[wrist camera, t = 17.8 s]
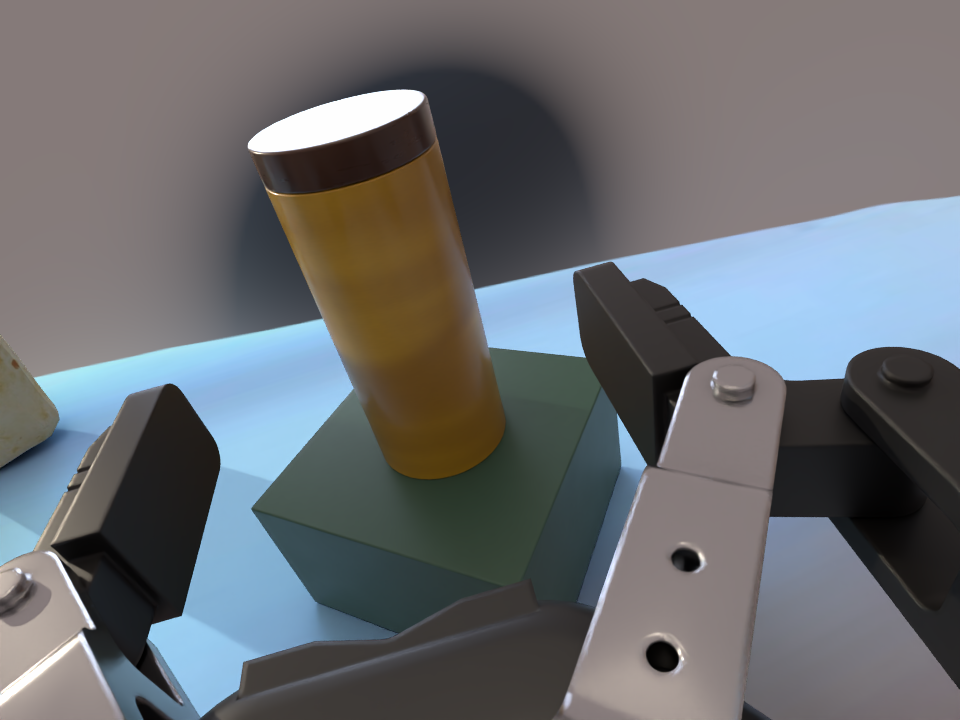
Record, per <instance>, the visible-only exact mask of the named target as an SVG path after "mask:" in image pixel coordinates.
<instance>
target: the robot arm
mask: <svg viewBox="0 0 960 720" xmlns="http://www.w3.org/2000/svg"><path fill="white" fill-rule="evenodd" d="M573 283H574V291H575V299H576V307H577V315H578V322H579V330H580V338H581V343H582V347H583V350H584V353H585V356H586V359H587V361H588V364H589V366H590V367H591V369H592V371H593V373H594V374H595V376H596V378H597V379H598V381H599V383H600V385H601V386H602V388H603V390H604V391H605V393H606V395H607V397H608V398H609V400H610V402H611V403H612V405H613V407H614V409H615V410H616V412H617V414H618V415H619V417H620V419H621V421H622V422H623V424H624V426H625V427H626V429H627V431H628V433H629V434H630V436H631V438H632V439H633V441H634V443H635V445H636V446H637V448H638V450H639V451H640V453H641V455H642V457H643V458H644V460H645V462H646V463H647V466H646V468H645V469H644V471H643V474H642V476H641V479H640V481H639V484H638V487H637V490H636V493H635V496H634V499H633V502H632V505H631V508H630V511H629V513H628V516H627V519H626V522H625V525H624V528H623V531H622V534H621V537H620V540H619V543H618V545H617V548H616V551H615V554H614V557H613V560H612V563H611V566H610V569H609V572H608V575H607V577H606V580H605V583H604V586H603V589H602V592H601V595H600V598H599V601H598V604H597V607H596V608H594V607H591V606H589V605H584V604H580V603H575V602H571V601H561V600H537V599H536V595H535V592H534V588H533V585H532V581H531V578H530V579H527V580H523V581H520V582H517V583H513V584H510V585H506V586H503V587H499V588H496V589H492V590H489V591H486V592H482V593H479V594H475V595H472V596H468V597H465V598H462V599H459V600H458V601H456V602H454V603H452V604H451V605H449V606H447V607H445V608H444V609H442V610H440V611H438V612H436V613H435V614H433V615H431V616H429V617H428V618H426V619H424V620H422V621H421V622H419V623H417V624H415V625H413V626H412V627H410V628H408V629H406V630H405V631H403V632H401V633H399V634H397V635H396V636H393V637H391V638H388V639H381V640H346V641H314V642H311V643H307V644H304V645H300V646H297V647H294V648H290V649H287V650H283V651H280V652H276V653H273V654H270V655H266V656H263V657H259V658H256V659H252V660H249V661H246V662H243V668H242V675H241V681H240V688H239V690H238V691H236V692H234V693H233V694H231V695H230V696H229V697H227V698H226V699H224V700H223V701H221V702H220V703H219V704H217V705H216V706H215V707H213V708H212V709H211V710H210V711H209V712H208V713H206V714H205V715H204V716H203V717H202V718H201V717H200V716H199V714H198V713H197V711H196V710H195V708H194V706H193V705H192V703H191V702H190V700H189V698H188V697H187V695H186V693H185V692H184V690H183V689H182V687H181V685H180V684H179V682H178V681H177V679H176V677H175V676H174V674H173V673H172V671H171V669H170V668H169V666H168V665H167V663H166V661H165V660H164V658H163V657H162V655H161V653H160V652H159V650H158V649H157V647H156V646H155V645H154V644H153V643H152V642H151V641H150V640H149V639H148V638H147V637H148V634H149V631H150V627H151V624H155V623H158V622H162V621H165V620H169V619H172V618H176V617H179V616H182V613H183V609H184V605H185V601H186V598H187V594H188V590H189V586H190V582H191V578H192V575H193V571H194V567H195V563H196V559H197V555H198V552H199V548H200V544H201V540H202V536H203V532H204V529H205V525H206V521H207V517H208V513H209V509H210V505H211V502H212V498H213V494H214V490H215V486H216V482H217V479H218V475H219V471H220V454H219V450H218V447H217V444H216V442H215V440H214V438H213V437H212V435H211V434H210V432H209V431H208V429H207V428H206V426H205V425H204V423H203V422H202V421H201V419H200V418H199V416H198V415H197V413H196V412H195V410H194V409H193V407H192V406H191V404H190V403H189V401H188V400H187V398H186V397H185V396H184V394H183V393H182V391H181V390H180V389H179V388H178V387H177V386H175V385H173V384H165V385H162V386H158V387H154V388H151V389H147V390H144V391H140V392H136V393H133V394H130V395H129V396H127V398H126V399H125V401H124V403H123V405H122V407H121V409H120V411H119V413H118V415H117V417H116V419H115V420H114V422H113V424H112V426H109V427H108V428H107V429H106V430H105V432H104V433H103V434H102V435H101V436H100V437H99V438H98V439H97V440H96V441H95V442H94V443H93V444H92V445H91V446H90V447H89V448H88V450H87V452H86V454H85V456H84V457H83V459H82V461H81V463H80V465H79V467H78V468H77V471H78V473H77V474H74V476H73V478H72V480H71V481H70V483H69V485H68V487H67V489H68V492H65V493H64V494H63V496H62V498H61V500H60V502H59V504H58V505H57V507H56V509H55V511H54V513H53V515H52V517H51V518H50V520H49V522H48V524H47V526H46V528H45V530H44V531H43V533H42V535H41V537H40V539H39V541H38V542H37V544H36V546H35V548H34V550H33V552H30V553H27V554H24V555H21V556H19V557H17V558H14V559H13V560H11V561H9V562H7V563H5V564H4V565H2V566H1V567H0V720H771V719H770V718H768V717H767V716H765V715H764V714H762V713H761V712H759V711H758V710H756V709H755V708H753V707H752V706H750V705H749V704H747V703H746V702H745V701H744V696H745V689H746V682H747V674H748V667H749V660H750V653H751V645H752V638H753V631H754V624H755V617H756V609H757V602H758V595H759V588H760V581H761V573H762V566H763V559H764V552H765V544H766V537H767V530H768V523H769V517H828V518H829V519H830V520H831V521H832V523H833V524H834V525H835V527H836V528H837V529H838V531H839V532H840V533H841V535H842V536H843V537H844V539H845V540H846V541H847V542H848V544H849V545H850V546H851V548H852V549H853V550H854V552H855V553H856V554H857V556H858V557H859V558H860V559H861V561H862V562H863V563H864V565H865V566H866V567H867V569H868V570H869V571H870V573H871V574H872V575H873V577H874V578H875V579H876V580H877V582H878V583H879V584H880V586H881V587H882V588H883V590H884V591H885V592H886V594H887V595H888V596H889V598H890V599H891V600H892V601H893V603H894V604H895V605H896V607H897V608H898V609H899V611H900V612H901V613H902V615H903V616H904V617H905V619H906V620H907V621H908V622H909V624H910V625H911V626H912V628H913V629H914V630H915V632H916V633H917V634H918V636H919V637H920V638H921V639H922V641H923V642H924V643H925V645H926V646H927V647H928V649H929V650H930V651H931V653H932V654H933V655H934V657H935V658H936V659H937V660H938V662H939V663H940V664H941V666H942V667H943V668H944V670H945V671H946V672H947V674H948V675H949V676H950V678H951V679H952V680H953V681H954V683H955V684H956V685H957V687H958V688H959V689H960V369H959V368H958V367H956V366H955V365H953V364H952V363H950V362H949V361H947V360H945V359H943V358H941V357H939V356H937V355H934V354H931V353H928V352H925V351H921V350H917V349H911V348H903V347H881V348H875V349H870V350H867V351H864V352H862V353H860V354H858V355H856V356H855V357H853V358H852V359H851V361H850V362H849V363H848V366H847V369H846V373H845V378H844V379H826V380H805V381H789V380H783V378H782V376H781V375H780V374H779V373H778V372H777V371H776V370H774V369H773V368H772V367H770V366H768V365H766V364H764V363H762V362H759V361H757V360H753V359H749V358H744V357H733V356H730V354H729V353H728V352H727V351H726V350H725V349H724V348H723V347H722V346H721V345H720V344H719V343H718V342H717V341H716V340H715V339H714V338H713V337H712V336H711V335H710V334H709V332H708V331H707V330H706V329H705V328H704V327H703V326H702V325H701V324H700V323H699V322H698V321H697V320H696V319H695V318H694V317H691V314H690V313H689V312H688V310H687V309H686V308H685V307H684V306H683V305H680V303H679V301H678V300H677V299H676V298H675V297H674V296H673V295H672V294H671V293H670V292H669V291H668V290H667V288H665V287H663V286H661V285H658V284H656V283H654V282H651V281H649V280H647V279H644V278H643V279H639V280H635V281H632V282H630V281H629V280H628V279H627V278H626V277H625V276H624V274H623V273H622V272H621V271H620V270H619V269H618V267H617V266H616V265H615V264H614V263H613V262H607V263H603V264H600V265H596V266H593V267H589V268H585V269H582V270H578V271H575V272H574V275H573Z"/></svg>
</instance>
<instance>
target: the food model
mask: <svg viewBox="0 0 960 720" xmlns="http://www.w3.org/2000/svg"><path fill="white" fill-rule="evenodd" d="M58 422H59V414H58V411H57V409H56V407H55V405H54V404H53V403H52V401H51V400H50V399H49V398H48V396H47V395H46V394H45V393H44V391H43V390H42V389H41V387H40V386H39V385H38V383H37V382H36V381H35V379H34V378H33V377H32V375H31V374H30V372H29V371H28V370H27V368H26V367H25V365H24V364H23V362H22V361H21V360H20V359H19V357H18V356H17V355H16V353H15V352H14V351H13V349H12V348H11V347H10V345H8V343H7V342H6V341H5V339H4V338H3V337H2V336H1V335H0V468H1V467H2V466H4V465H5V464H7V463H8V462H10V461H12V460H13V459H15V458H16V457H18V456H19V455H21V454H22V453H24V452H25V451H27V450H29V449H30V448H32V447H34V446H36V445H37V444H39V443H41V442H43V441H44V440H46V439H47V438H49V437H50V436H51V435H52V434H53V432H54V430H55V428H56V426H57V424H58Z"/></svg>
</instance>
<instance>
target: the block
mask: <svg viewBox="0 0 960 720" xmlns="http://www.w3.org/2000/svg"><path fill="white" fill-rule="evenodd" d="M488 348H489V347H488ZM489 352H490V356H491V360H492V364H493V369H494V373H495V377H496V381H497V385H498V389H499V393H500V397H501V401H502V405H503V409H504V413H505V420H506V424H505V430H504V434H503V436H502V438H501V441H500V442H499V444H498V445H497V447H496V448H495V449H494V451H493V452H492V453H491V454H490V455H489V456H488V457H487V458H486V459H484V460H483V461H482V462H480V463H479V464H478V465H476V466H474V467H473V468H471V469H469V470H467V471H465V472H462V473H460V474H457V475H454V476H450V477H447V478H441V479H430V480H427V479H416V478H411V477H408V476H405V475H403V474H401V473H399V472H397V471H396V470H394V469H393V468H392V467H391V466H390V465H389V464H388V463H387V461H386V460H385V458H384V456H383V453H382V451H381V449H380V447H379V444H378V442H377V440H376V438H375V435H374V433H373V431H372V429H371V426H370V424H369V422H368V419H367V417H366V415H365V413H364V410H363V408H362V406H361V404H360V401H359V399H358V397H357V395H356V392H355V390H354V389H353V390H352V391H351V393H350V394H349V395H348V396H347V397H346V398H345V400H344V401H343V402H342V403H341V404H340V405H339V407H338V408H337V409H336V410H335V411H334V412H333V414H332V415H331V416H330V417H329V418H328V419H327V421H326V422H325V423H324V424H323V425H322V426H321V428H320V429H319V430H318V431H317V432H316V433H315V435H314V436H313V437H312V438H311V439H310V440H309V442H308V443H307V444H306V445H305V446H304V447H303V448H302V450H301V451H300V452H299V453H298V454H297V455H296V457H295V458H294V459H293V460H292V461H291V462H290V464H289V465H288V466H287V467H286V468H285V469H284V471H283V472H282V473H281V474H280V475H279V476H278V478H277V479H276V480H275V481H274V482H273V483H272V485H271V486H270V487H269V488H268V489H267V490H266V492H265V493H264V494H263V495H262V496H261V497H260V499H259V500H258V501H257V502H256V503H255V504H254V506H253V507H252V508H251V510H252V511H253V513H254V514H255V515H256V517H257V518H258V520H259V521H260V523H261V524H262V526H263V527H264V528H265V530H266V531H267V533H268V534H269V536H270V537H271V538H272V540H273V541H274V543H275V544H276V546H277V547H278V549H279V550H280V551H281V553H282V554H283V556H284V557H285V559H286V560H287V561H288V563H289V564H290V566H291V567H292V569H293V570H294V572H295V573H296V574H297V576H298V577H299V579H300V580H301V582H302V583H303V584H304V586H305V587H306V589H307V590H308V592H309V593H310V595H311V596H312V597H313V599H314V600H315V602H318V603H321V604H323V605H326V606H328V607H331V608H334V609H336V610H339V611H342V612H344V613H347V614H349V615H352V616H355V617H357V618H360V619H362V620H365V621H368V622H370V623H373V624H376V625H378V626H381V627H383V628H386V629H389V630H391V631H394V632H397V633H401V632H403V631H405V630H406V629H408V628H410V627H412V626H413V625H415V624H417V623H419V622H421V621H422V620H424V619H426V618H428V617H429V616H431V615H433V614H435V613H436V612H438V611H440V610H442V609H444V608H445V607H447V606H449V605H451V604H452V603H454V602H456V601H458V600H459V599H462V598H465V597H468V596H472V595H475V594H479V593H482V592H486V591H489V590H492V589H496V588H499V587H503V586H506V585H510V584H513V583H517V582H520V581H523V580H527V579H530V578H531V581H532V585H533V588H534V592H535V595H536V599H537V600H561V601H571V602H575V603H576V601H577V598H578V595H579V592H580V589H581V586H582V583H583V580H584V577H585V574H586V571H587V568H588V565H589V562H590V559H591V556H592V553H593V550H594V547H595V544H596V541H597V538H598V535H599V532H600V529H601V526H602V523H603V520H604V516H605V513H606V510H607V507H608V504H609V501H610V498H611V495H612V492H613V489H614V486H615V483H616V480H617V477H618V474H619V471H620V468H621V456H620V445H619V433H618V421H617V412H616V410H615V409H614V407H613V405H612V403H611V402H610V400H609V398H608V397H607V395H606V393H605V391H604V390H603V388H602V386H601V385H600V383H599V381H598V379H597V378H596V376H595V374H594V373H593V371H592V369H591V367H590V366H589V364H588V361H587V359H586V358H583V357H574V356H564V355H555V354H545V353H536V352H526V351H517V350H507V349H498V348H489Z"/></svg>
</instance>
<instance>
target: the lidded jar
mask: <svg viewBox="0 0 960 720" xmlns="http://www.w3.org/2000/svg"><path fill="white" fill-rule="evenodd" d="M248 150H249V152H250V155H251V157H252V159H253V161H254V164H255V166H256V168H257V170H258V173H259V175H260V177H261V179H262V182H263V184H264V186H265V189H266V191H267V193H268V195H269V197H270V200H271V202H272V204H273V207H274V209H275V211H276V213H277V216H278V218H279V220H280V222H281V225H282V227H283V229H284V231H285V234H286V236H287V238H288V241H289V243H290V245H291V247H292V250H293V252H294V254H295V256H296V258H297V261H298V263H299V265H300V268H301V270H302V272H303V275H304V277H305V279H306V281H307V284H308V286H309V288H310V290H311V293H312V295H313V297H314V299H315V302H316V304H317V306H318V308H319V311H320V313H321V315H322V318H323V320H324V322H325V324H326V327H327V329H328V331H329V333H330V336H331V338H332V340H333V343H334V345H335V347H336V349H337V352H338V354H339V356H340V358H341V361H342V363H343V365H344V367H345V370H346V372H347V374H348V376H349V379H350V381H351V383H352V386H353V388H354V390H355V392H356V395H357V397H358V399H359V401H360V404H361V406H362V408H363V410H364V413H365V415H366V417H367V419H368V422H369V424H370V426H371V429H372V431H373V433H374V435H375V438H376V440H377V442H378V444H379V447H380V449H381V451H382V453H383V456H384V458H385V460H386V461H387V463H388V464H389V465H390V466H391V467H392V468H393V469H394V470H396V471H397V472H399V473H401V474H403V475H405V476H408V477H411V478H416V479H427V480H430V479H441V478H447V477H450V476H454V475H457V474H460V473H462V472H465V471H467V470H469V469H471V468H473V467H474V466H476V465H478V464H479V463H480V462H482V461H483V460H484V459H486V458H487V457H488V456H489V455H490V454H491V453H492V452H493V451H494V449H495V448H496V447H497V445H498V444H499V442H500V441H501V438H502V436H503V434H504V430H505V424H506V420H505V413H504V409H503V405H502V401H501V397H500V393H499V389H498V385H497V381H496V377H495V373H494V369H493V364H492V360H491V356H490V352H489V348H488V344H487V340H486V336H485V332H484V328H483V324H482V320H481V315H480V311H479V307H478V303H477V299H476V295H475V291H474V287H473V283H472V279H471V275H470V270H469V267H468V263H467V258H466V254H465V251H464V246H463V242H462V238H461V234H460V230H459V226H458V222H457V217H456V213H455V210H454V205H453V202H452V197H451V193H450V189H449V185H448V181H447V177H446V173H445V169H444V164H443V161H442V156H441V153H440V148H439V144H438V140H437V137H436V132H435V128H434V123H433V119H432V115H431V111H430V107H429V103H428V99H427V97H426V95H425V94H424V93H421V92H419V91H413V90H391V91H383V92H376V93H370V94H364V95H360V96H355V97H351V98H346V99H342V100H339V101H335V102H332V103H328V104H325V105H321V106H318V107H315V108H312V109H309V110H307V111H304V112H301V113H298V114H296V115H293V116H291V117H288V118H287V119H284V120H282V121H279V122H277V123H275V124H273V125H271V126H270V127H268V128H266V129H264V130H263V131H261V132H260V133H259V134H257V135H256V136H255V137H254V138H252V140H251V141H250V142H249V144H248Z"/></svg>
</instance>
